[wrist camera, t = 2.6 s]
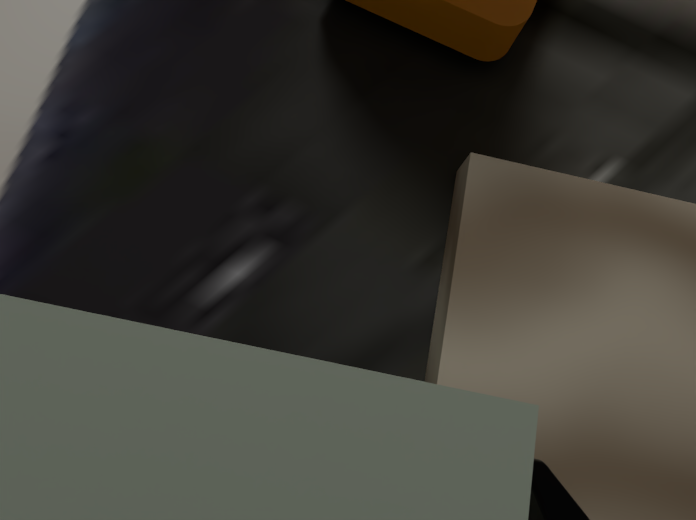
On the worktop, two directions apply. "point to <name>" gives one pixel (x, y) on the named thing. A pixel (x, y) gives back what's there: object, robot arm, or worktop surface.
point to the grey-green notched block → (238, 431)
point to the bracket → (459, 22)
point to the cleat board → (578, 328)
